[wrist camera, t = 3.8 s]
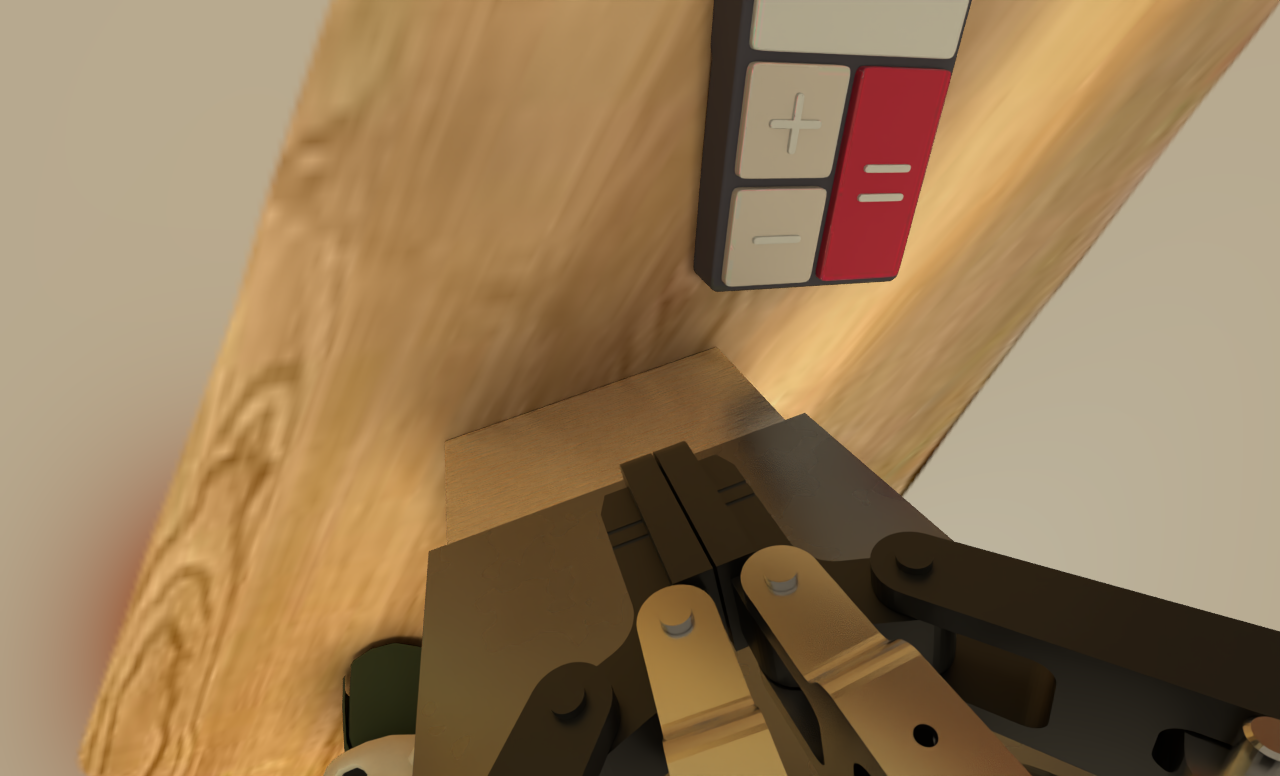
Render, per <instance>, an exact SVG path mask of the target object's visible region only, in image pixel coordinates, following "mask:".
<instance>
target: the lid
mask: <svg viewBox="0 0 1280 776" xmlns="http://www.w3.org/2000/svg"><path fill="white" fill-rule="evenodd" d="M715 454H716V455H718V456H720V457H722V458H723V459H725V460H727V461H729V462H731V463H733V464H734V465H735V466H736V467H737V469H738V470H739V472H740V473H741V474H742V476H743V477H744V479H745V480H746V483H748V484H749V486H750V487H751V488H752V490H753V491H754V493H755V495H756V496H757V497H758V498H759V500H760V501H761V502H762V504H763V505H764V507H765V508H766V509H767V511H768V512H769V514H770V515H771V516H772V518H773V519H774V520H775V522H776V523H777V525H778V526H779V527H780V529H781V530H782V532H783V533H784V534H785V536H786V537H787V539H788V540H789V541H790V543H791V544H792V545H793V546H794V547H797V548H800V549H802V550H804V551H806V552H807V553H809V554H810V555H812V556H813V557H814V558H816V559H820V560H826V561H844V560H854V559H864V558H870V555H871V552H872V549H873V547H874V546H875V545H876V544H877V543H878V541H880V540H881V539H883V538H884V537H886V536H888V535H891V534H894V533H898V532H920V533H924V534H928V535H932V536H936V537H939V538H943V539H947V540H950V541H953V540H952V539H950V538H949V537H948V536H947V535H946V534H944V533H943V532H942V531H941V530H940V529H939V528H938V527H936V526H935V525H934V524H933V523H932V522H931V521H929V520H928V519H927V518H926V517H925V516H924V515H923V514H921V513H920V512H919V511H918V510H917V509H916V508H914V507H913V506H912V505H911V504H910V503H909V502H907V501H906V500H905V499H904V498H903V497H902V496H901V495H899V494H898V493H897V492H896V491H895V490H894V489H892V488H891V487H890V486H889V485H888V484H887V483H885V482H884V481H883V480H882V479H881V478H880V477H879V476H877V475H876V474H875V473H874V472H873V471H872V470H870V469H869V468H868V467H867V466H866V465H865V464H863V463H862V462H861V461H860V460H859V459H858V458H856V457H855V456H854V455H853V454H852V453H851V452H850V451H848V450H847V449H846V448H845V447H844V446H843V445H841V444H840V443H839V442H838V441H837V440H836V439H834V438H833V437H832V436H831V435H830V434H829V433H828V432H826V431H825V430H824V429H823V428H822V427H821V426H819V425H818V424H817V423H816V422H815V421H814V420H812V419H811V418H810V417H809V416H808V415H807V414H805V413H803V414H801V415H798V416H795V417H792V418H790V419H787V420H784V421H782V422H779V423H776V424H773V425H771V426H768V427H765V428H763V429H760V430H757V431H754V432H752V433H749V434H746V435H744V436H741V437H738V438H735V439H733V440H730V441H727V442H725V443H722V444H719V445H716V446H714V447H711V448H708V449H706V450H703V451H700V452H697V453H695V454H694V455H695V457H696V458H697V460H698V461H699V460H701V459H704V458H707V457H709V456H712V455H715ZM624 488H626V486H625V483H624V480H621V481H619V482H616V483H613V484H611V485H608V486H605V487H602V488H600V489H597V490H594V491H592V492H589V493H586V494H583V495H581V496H578V497H575V498H573V499H570V500H567V501H564V502H562V503H559V504H556V505H554V506H551V507H548V508H545V509H543V510H540V511H537V512H535V513H532V514H529V515H526V516H524V517H521V518H518V519H516V520H513V521H510V522H507V523H505V524H502V525H499V526H497V527H494V528H491V529H488V530H486V531H483V532H480V533H478V534H475V535H472V536H469V537H467V538H464V539H461V540H459V541H456V542H453V543H450V544H448V545H445V546H442V547H440V548H437V549H434V550H431V551H429V556H428V569H427V583H426V596H425V610H424V623H423V637H422V651H421V664H420V678H419V691H418V705H417V718H416V732H415V746H414V759H413V773H412V776H488V774H489V772H490V770H491V768H492V766H493V765H494V763H495V761H496V759H497V757H498V755H499V753H500V751H501V750H502V748H503V746H504V744H505V742H506V740H507V738H508V736H509V734H510V733H511V731H512V729H513V727H514V725H515V723H516V721H517V719H518V718H519V716H520V714H521V712H522V710H523V708H524V706H525V704H526V703H527V701H528V699H529V697H530V695H531V693H532V691H533V690H534V688H535V687H536V685H537V684H538V683H539V681H540V680H541V679H542V678H543V677H544V676H545V675H547V674H548V673H549V672H551V671H552V670H553V669H555V668H557V667H559V666H561V665H564V664H567V663H572V662H586V663H590V664H593V665H595V666H598V665H599V664H600V663H601V662H603V661H604V660H605V659H607V658H608V657H609V656H610V655H612V654H613V653H614V652H615V651H616V650H617V649H618V648H619V647H620V646H621V645H622V644H623V643H624V641H625V640H626V638H627V637H628V635H629V633H630V631H631V628H632V625H633V619H634V610H633V605H632V603H631V600H630V597H629V594H628V591H627V588H626V586H625V583H624V580H623V577H622V574H621V571H620V569H619V566H618V563H617V560H616V557H615V554H614V551H613V549H612V546H611V543H610V540H609V537H608V534H607V531H606V529H605V526H604V523H603V520H602V517H601V510H602V506H603V501H604V496H605V495H607V494H610V493H613V492H615V491H618V490H621V489H624ZM729 639H730V638H729ZM730 643H731V646H732V648H733V651H734V654H735V656H736V659H737V661H738V664H739V666H740V669H741V671H742V674H743V676H744V679H745V681H746V684H747V687H748V689H749V692H750V694H751V697H752V699H753V701H754V704H755V706H756V707H759V709H760V711H761V713H762V715H763V717H764V719H765V722H766V724H767V726H768V729H769V731H770V734H771V736H772V739H773V741H774V744H775V746H776V749H777V751H778V754H779V756H780V759H781V761H782V764H783V766H784V769H785V771H786V774H787V776H819V775H818V773H817V771H816V769H815V768H814V766H813V765H812V763H811V761H810V760H809V758H808V756H807V755H806V753H805V752H804V750H803V748H802V747H801V745H800V743H799V742H798V740H797V739H796V737H795V735H794V734H793V732H792V730H791V729H790V727H789V726H788V724H787V722H786V721H785V719H784V717H783V716H782V714H781V713H780V711H779V709H778V708H777V706H776V704H775V703H774V701H773V700H772V698H771V696H770V695H769V693H768V691H767V690H766V688H765V686H764V684H763V682H762V679H761V676H760V671H759V666H758V662H757V661H756V659H755V657H754V655H753V653H752V651H751V649H750V647H749V646H748V647H746V648H744V649H741V650H739V651H736V650H735V648H734V646H733V644H732V642H731V640H730ZM992 732H993V731H992ZM993 733H994V735H995V736H996V737H997V738H998V739H999V740H1000V741H1001V742H1002V743H1003V744H1004V745H1005V747H1006V748H1007V749H1008V750H1009V751H1010V752H1011V753H1012V754H1013V755H1014V756H1015V758H1016V759H1017V760H1018V761H1019V762H1020V763H1023V764H1027V765H1030V766H1033V767H1036V768H1039V769H1042V770H1045V771H1048V772H1050V773H1053V774H1055V775H1057V776H1096V775H1094V774H1092V773H1089V772H1087V771H1084V770H1082V769H1080V768H1077V767H1075V766H1073V765H1070V764H1068V763H1066V762H1063V761H1061V760H1059V759H1056V758H1054V757H1052V756H1049V755H1047V754H1045V753H1042V752H1040V751H1037V750H1035V749H1033V748H1030V747H1028V746H1026V745H1023V744H1021V743H1019V742H1016V741H1014V740H1012V739H1009V738H1007V737H1005V736H1002V735H1000V734H997V733H995V732H993ZM665 776H670V774H669V773H668V774H666V775H665Z"/></svg>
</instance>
